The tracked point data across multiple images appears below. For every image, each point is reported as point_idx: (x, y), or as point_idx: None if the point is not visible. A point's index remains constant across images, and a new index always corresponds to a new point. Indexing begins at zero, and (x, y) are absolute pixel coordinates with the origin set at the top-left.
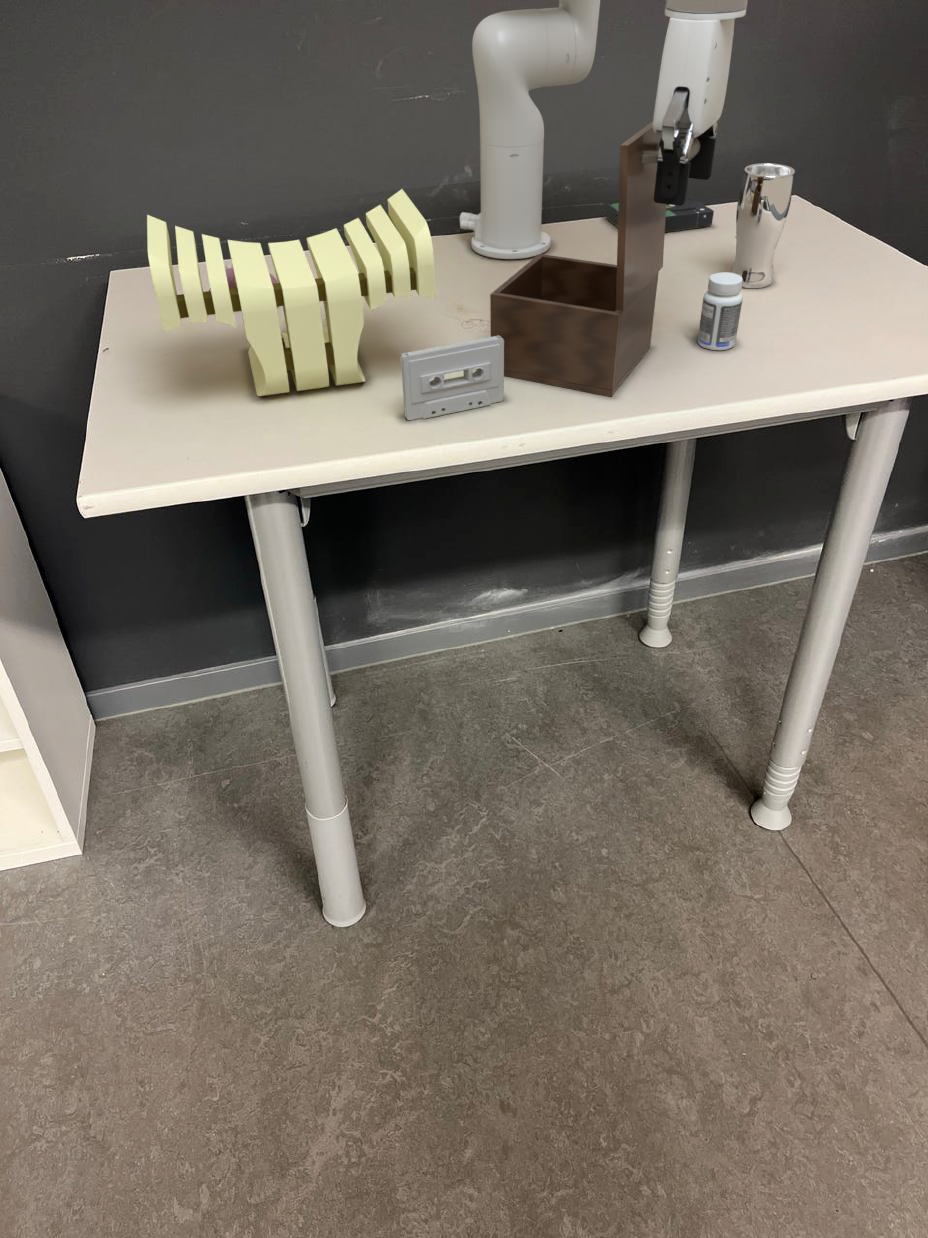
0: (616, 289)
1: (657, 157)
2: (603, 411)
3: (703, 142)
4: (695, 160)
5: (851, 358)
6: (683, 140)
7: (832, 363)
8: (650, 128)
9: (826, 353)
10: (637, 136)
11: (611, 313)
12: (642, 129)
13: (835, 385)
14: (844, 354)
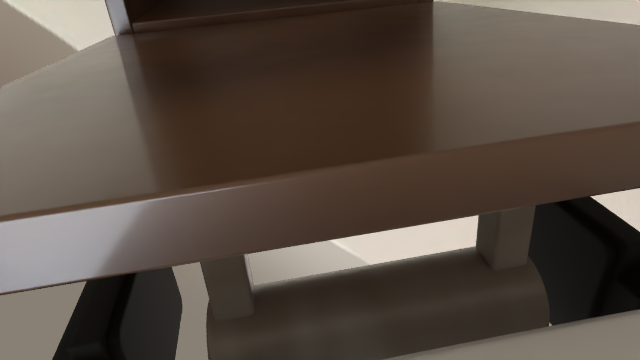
0: (96, 43)
1: (203, 275)
2: (96, 24)
3: (580, 313)
4: (534, 239)
5: (448, 247)
6: (465, 322)
7: (425, 235)
8: (419, 221)
9: (453, 221)
10: (60, 265)
11: (114, 21)
12: (370, 172)
13: (365, 257)
14: (457, 237)
